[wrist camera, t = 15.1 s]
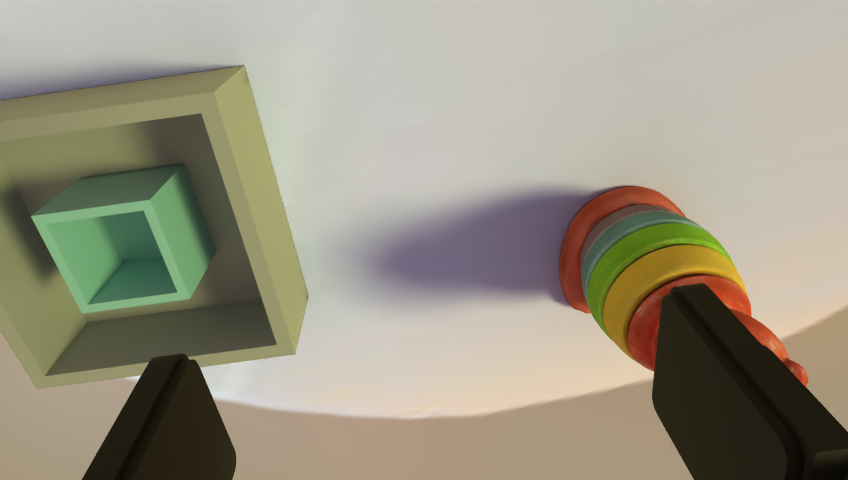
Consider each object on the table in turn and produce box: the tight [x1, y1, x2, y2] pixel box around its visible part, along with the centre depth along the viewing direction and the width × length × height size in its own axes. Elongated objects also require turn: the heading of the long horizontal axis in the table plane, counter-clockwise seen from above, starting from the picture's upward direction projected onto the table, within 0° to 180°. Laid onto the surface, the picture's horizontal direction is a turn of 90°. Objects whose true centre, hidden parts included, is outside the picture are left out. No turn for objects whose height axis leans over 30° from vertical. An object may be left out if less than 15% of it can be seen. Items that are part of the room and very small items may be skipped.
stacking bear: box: [559, 187, 808, 387], centre depth 35 cm, size 11×10×18 cm
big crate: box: [0, 66, 308, 389], centre depth 36 cm, size 18×18×7 cm
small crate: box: [31, 163, 216, 314], centre depth 36 cm, size 7×7×6 cm
